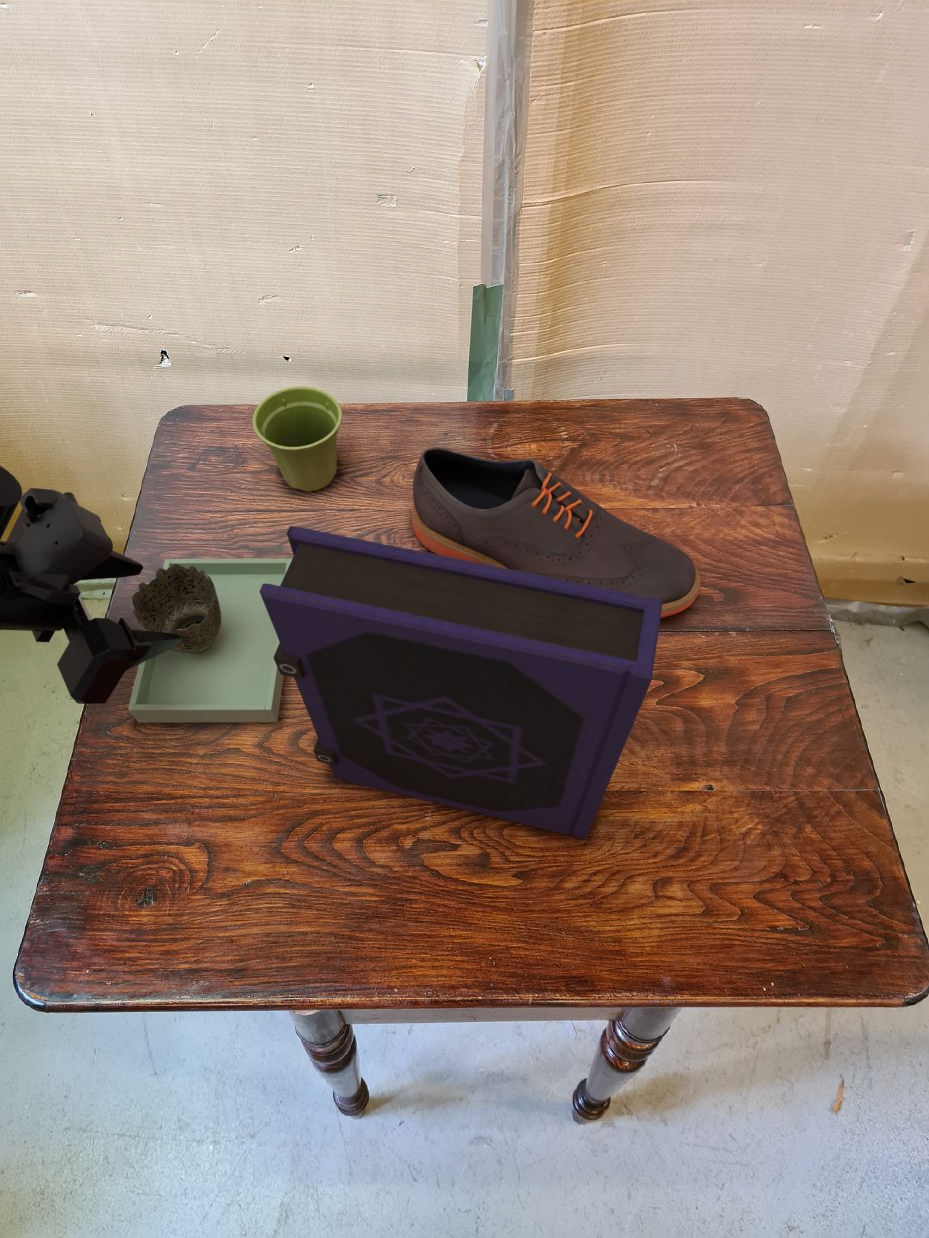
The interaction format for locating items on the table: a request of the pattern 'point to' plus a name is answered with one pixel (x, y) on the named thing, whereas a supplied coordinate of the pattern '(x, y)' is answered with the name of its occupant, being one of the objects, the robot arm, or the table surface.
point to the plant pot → (301, 434)
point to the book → (462, 676)
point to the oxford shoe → (541, 528)
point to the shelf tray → (220, 655)
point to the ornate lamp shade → (180, 607)
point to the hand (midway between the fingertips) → (159, 604)
